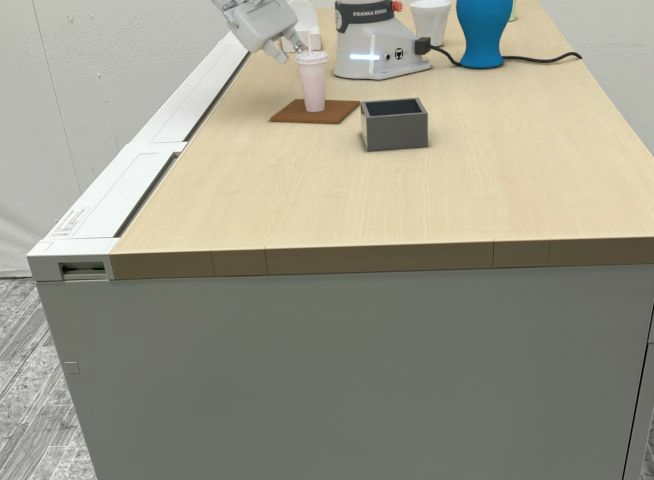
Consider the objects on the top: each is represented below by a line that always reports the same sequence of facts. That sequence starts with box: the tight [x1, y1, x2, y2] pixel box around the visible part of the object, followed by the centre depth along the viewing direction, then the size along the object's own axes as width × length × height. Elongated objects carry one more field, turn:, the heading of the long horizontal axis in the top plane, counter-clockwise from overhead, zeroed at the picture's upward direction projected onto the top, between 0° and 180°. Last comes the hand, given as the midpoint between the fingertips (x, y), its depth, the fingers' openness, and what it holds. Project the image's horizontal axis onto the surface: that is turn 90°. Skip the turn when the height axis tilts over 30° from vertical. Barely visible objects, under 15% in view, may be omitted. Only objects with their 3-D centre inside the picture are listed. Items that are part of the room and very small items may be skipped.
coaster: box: [270, 98, 361, 125], centre depth 164 cm, size 14×14×1 cm
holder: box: [359, 96, 429, 152], centre depth 146 cm, size 11×11×6 cm
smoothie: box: [294, 30, 329, 112], centre depth 159 cm, size 6×6×14 cm
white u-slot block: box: [280, 0, 322, 53], centre depth 212 cm, size 10×18×10 cm, turn 6°
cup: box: [409, 0, 452, 48], centre depth 203 cm, size 10×10×9 cm
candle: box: [508, 0, 517, 22], centre depth 224 cm, size 5×5×8 cm
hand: (294, 56), depth 158 cm, fingers open, 8 cm apart
